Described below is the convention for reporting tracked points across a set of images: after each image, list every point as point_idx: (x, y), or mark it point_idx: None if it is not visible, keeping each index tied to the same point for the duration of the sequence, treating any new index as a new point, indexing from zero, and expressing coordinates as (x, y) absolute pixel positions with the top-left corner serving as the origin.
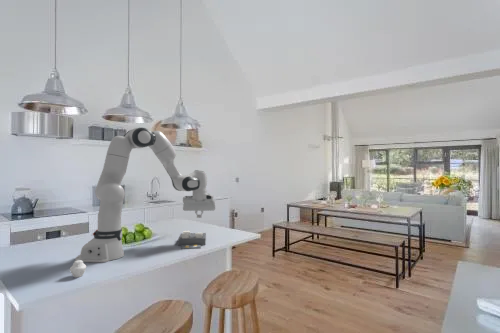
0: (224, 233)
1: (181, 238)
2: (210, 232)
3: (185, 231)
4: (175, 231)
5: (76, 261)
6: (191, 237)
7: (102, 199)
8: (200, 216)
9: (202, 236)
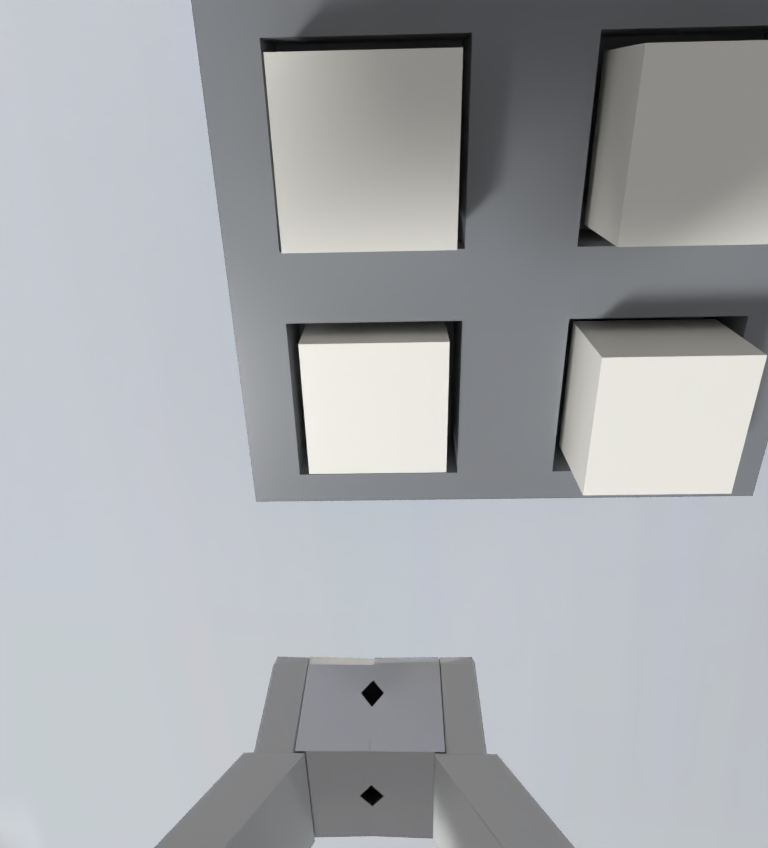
0: (44, 704)
1: None
2: None
3: (695, 432)
4: (731, 825)
5: None
6: (546, 120)
7: None
8: (309, 694)
9: None
